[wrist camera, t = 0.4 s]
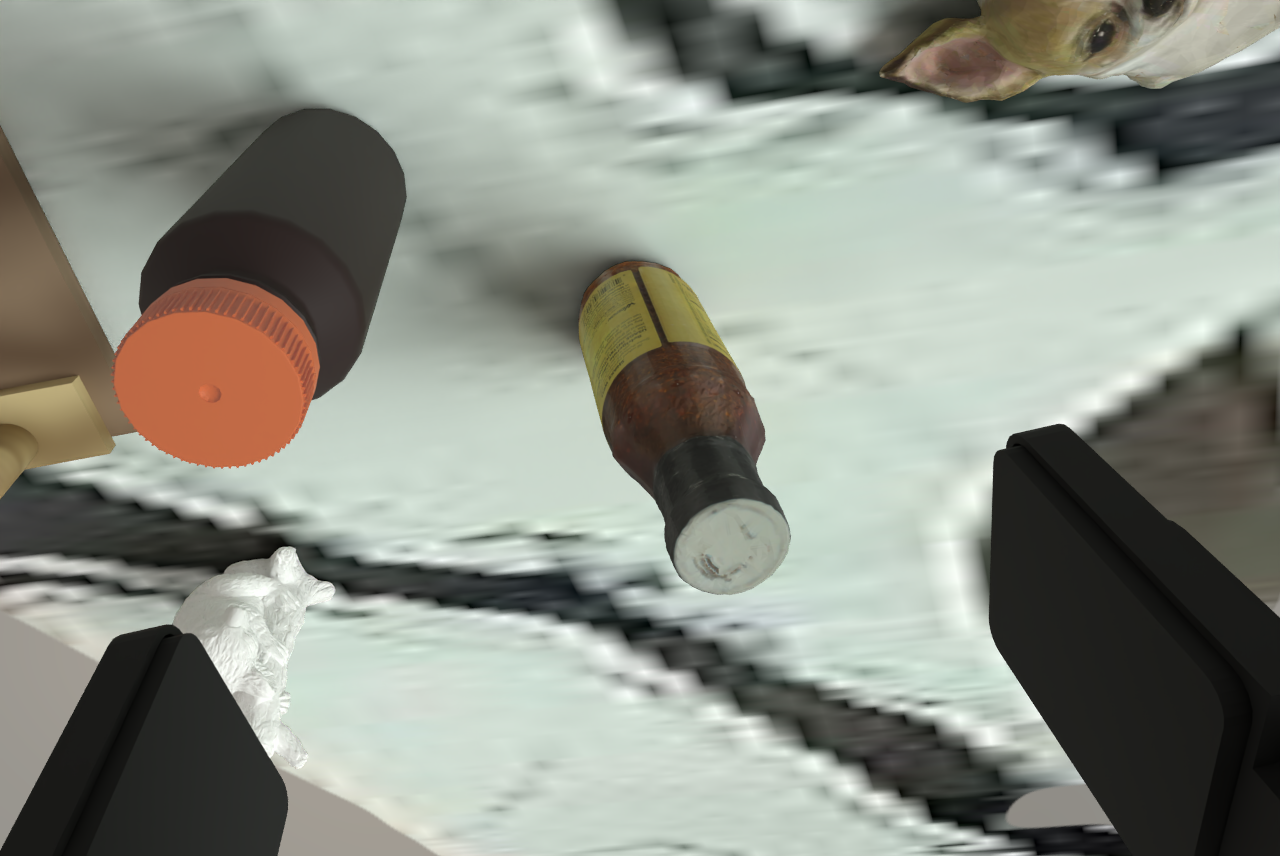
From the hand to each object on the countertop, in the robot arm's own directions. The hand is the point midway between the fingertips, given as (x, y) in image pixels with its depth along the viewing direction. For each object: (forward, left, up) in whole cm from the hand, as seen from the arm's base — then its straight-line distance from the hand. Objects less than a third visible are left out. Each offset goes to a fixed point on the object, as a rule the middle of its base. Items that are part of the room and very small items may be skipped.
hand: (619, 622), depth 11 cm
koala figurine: (+24, -20, -35) cm, 47 cm away
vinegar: (+3, -10, -35) cm, 36 cm away
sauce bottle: (+12, +3, -35) cm, 37 cm away
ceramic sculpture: (-1, +23, -35) cm, 42 cm away
